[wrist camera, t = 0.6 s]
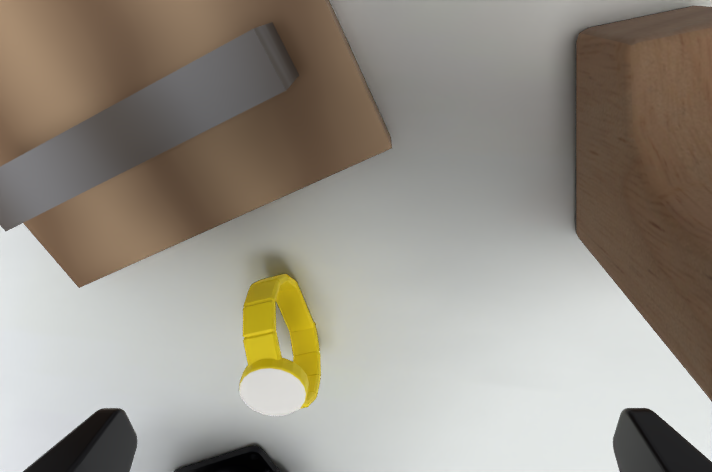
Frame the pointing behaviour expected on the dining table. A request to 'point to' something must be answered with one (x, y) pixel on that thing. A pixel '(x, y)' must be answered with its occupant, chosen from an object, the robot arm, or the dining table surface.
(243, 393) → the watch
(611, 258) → the wooden block
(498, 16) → the dining table surface
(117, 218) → the cradle
